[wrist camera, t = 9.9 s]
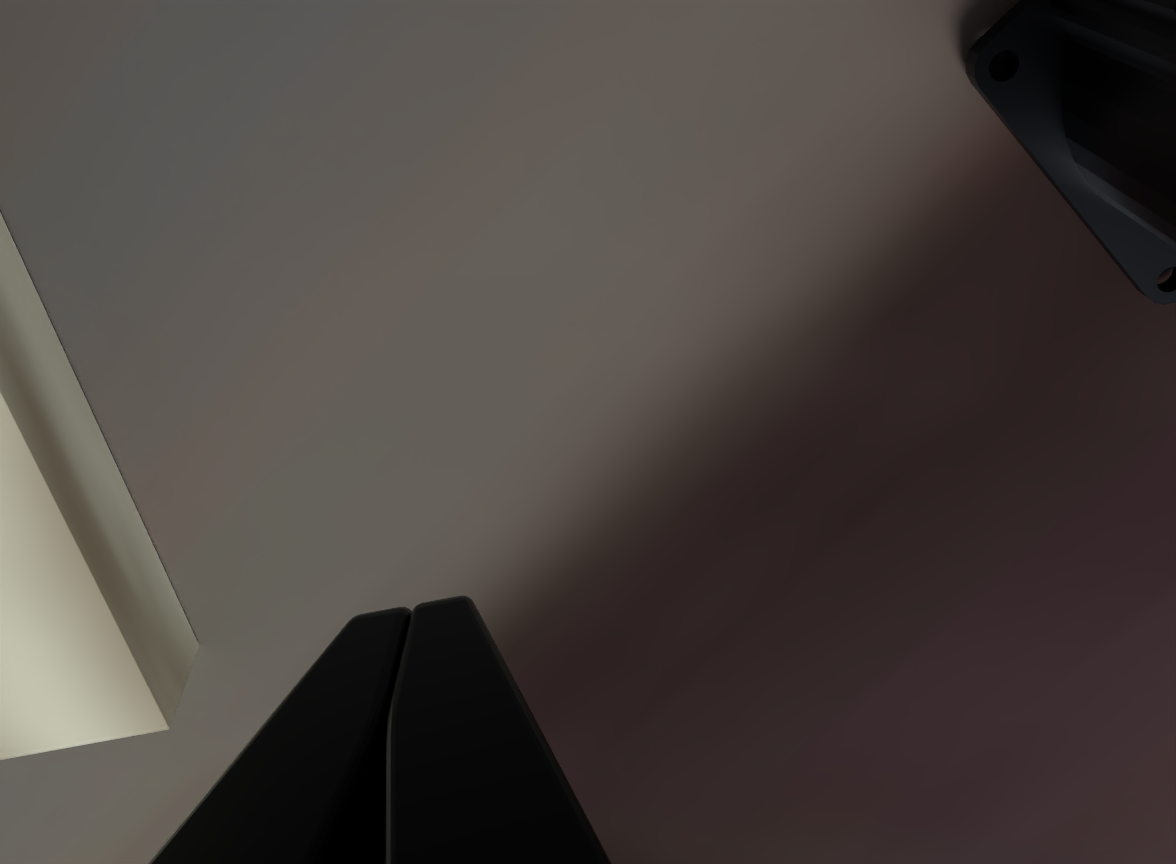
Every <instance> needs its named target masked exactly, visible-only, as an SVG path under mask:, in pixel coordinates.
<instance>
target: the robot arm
mask: <svg viewBox="0 0 1176 864" xmlns="http://www.w3.org/2000/svg"><path fill="white" fill-rule="evenodd" d="M1003 50H1008V52H1009V55H1010V60H1009V65H1008V67H1007V68H1006V69H1005V71H1004V72H1003V73H1001V74H999V75H997V76H990V73H989V65H990V61H991V60H992V59H993V57H994V56H995V55H996V54H997V53H999V52H1001V51H1003ZM966 74H967V76H968V78H969V80H970V82H971V84H972V85H973V86H974V87H975V89H976V90H977V91H978V92H979V94H980V95H981V96H982V97H983V99H984V100H985V101H986V102H987V104H988V105H989V106H990V107H991V108H992V110H993V111H994V112H995V113H996V115H997V116H998V117H999V118H1000V120H1001V121H1002V122H1003V123H1004V125H1005V126H1006V127H1007V128H1008V130H1009V131H1010V132H1011V133H1012V135H1013V136H1014V137H1015V138H1016V140H1017V141H1018V142H1019V143H1020V145H1021V146H1022V147H1023V148H1024V150H1025V151H1026V152H1027V153H1028V155H1029V156H1030V157H1031V158H1032V159H1033V161H1034V162H1035V163H1036V164H1037V166H1038V167H1039V168H1040V169H1041V171H1042V172H1043V173H1044V174H1045V176H1046V177H1047V178H1048V179H1049V181H1050V182H1051V183H1052V184H1053V186H1054V187H1055V188H1056V189H1057V191H1058V192H1059V193H1060V194H1061V196H1062V197H1063V198H1064V199H1065V201H1066V202H1067V203H1068V204H1069V205H1070V207H1071V208H1072V209H1073V210H1074V212H1075V213H1076V214H1077V215H1078V217H1079V218H1080V219H1081V220H1082V222H1083V223H1084V224H1085V225H1086V227H1087V228H1088V229H1089V230H1090V232H1091V233H1092V234H1093V235H1094V237H1095V238H1096V239H1097V240H1098V242H1099V243H1100V244H1101V245H1102V247H1103V248H1104V249H1105V250H1106V252H1107V253H1108V254H1109V255H1110V256H1111V258H1112V259H1113V260H1114V261H1115V263H1116V264H1117V265H1118V266H1119V268H1120V269H1121V270H1122V271H1123V273H1124V274H1125V275H1126V276H1127V278H1128V279H1129V280H1130V281H1131V283H1132V284H1133V285H1134V286H1135V288H1136V289H1137V290H1138V291H1140V292H1141V293H1142V294H1143V295H1145V296H1146V297H1147V298H1149V299H1150V300H1151V301H1153V302H1154V303H1158V304H1163V305H1164V304H1169V303H1174V302H1176V0H1020V1H1019V2H1018V3H1017V4H1016V5H1015V6H1014V7H1013V8H1012V9H1011V10H1010V11H1009V12H1007V13H1006V14H1005V15H1004V16H1003V17H1002V18H1001V19H1000V20H999V21H998V22H997V23H995V24H994V25H993V26H992V27H991V28H990V29H989V30H988V31H987V32H986V33H985V34H983V35H982V36H981V37H980V38H979V39H978V40H977V41H976V43H975V44H974V45H973V47H972V48H971V49H970V51H969V54H968V57H967V60H966ZM1170 267H1174V269H1173V272H1172V275H1171V276H1170V277H1169V279H1168V280H1167V281H1165V282H1163V283H1161V284H1157V281H1158V277H1159V276H1160V274H1161V273H1162V272H1163V271H1164V270H1166V269H1168V268H1170ZM148 864H611V862H610V860H609V858H608V856H607V854H606V852H605V851H604V849H603V847H602V845H601V843H600V841H599V839H598V837H597V835H596V834H595V832H594V830H593V828H592V826H591V824H590V822H589V820H588V818H587V816H586V815H585V813H584V811H583V809H582V807H581V805H580V803H579V801H578V799H577V798H576V796H575V794H574V792H573V790H572V788H571V786H570V784H569V782H568V780H567V779H566V777H565V775H564V773H563V771H562V769H561V767H560V765H559V763H558V761H557V760H556V758H555V756H554V754H553V752H552V750H551V748H550V746H549V744H548V743H547V741H546V739H545V737H544V735H543V733H542V731H541V729H540V727H539V725H538V724H537V722H536V720H535V718H534V716H533V714H532V712H531V710H530V708H529V707H528V705H527V703H526V701H525V699H524V697H523V695H522V693H521V691H520V689H519V688H518V686H517V684H516V682H515V680H514V678H513V676H512V674H511V672H510V670H509V669H508V667H507V665H506V663H505V661H504V659H503V657H502V655H501V653H500V652H499V650H498V648H497V646H496V644H495V642H494V640H493V638H492V636H491V634H490V633H489V631H488V629H487V627H486V625H485V623H484V621H483V619H482V617H481V616H480V614H479V612H478V610H477V608H476V606H475V604H474V602H473V601H472V599H470V598H469V597H467V596H457V597H451V598H446V599H441V600H435V601H430V602H425V603H421V604H419V605H417V606H416V607H415V608H414V609H413V611H411V610H410V609H408V608H406V607H397V608H392V609H387V610H381V611H376V612H370V613H365V614H360V615H357V616H355V617H354V618H352V619H351V620H350V621H349V622H348V623H347V624H346V625H345V626H344V628H343V629H342V630H341V631H340V632H339V634H338V635H337V636H336V637H335V639H334V640H333V641H332V642H331V643H330V645H329V646H328V647H327V648H326V649H325V651H324V652H323V653H322V654H321V655H320V657H319V658H318V659H317V660H316V661H315V663H314V664H313V665H312V666H311V667H310V669H309V670H308V671H307V672H306V673H305V675H304V676H303V677H302V678H301V679H300V681H299V682H298V683H297V684H296V685H295V687H294V688H293V689H292V690H291V691H290V693H289V694H288V695H287V696H286V698H285V699H284V700H283V701H282V702H281V704H280V705H279V706H278V707H277V708H276V710H275V711H274V712H273V713H272V714H271V716H270V717H269V718H268V719H267V720H266V722H265V723H264V724H263V725H262V726H261V728H260V729H259V730H258V731H257V732H256V734H255V735H254V736H253V737H252V738H251V740H250V741H249V742H248V743H247V744H246V746H245V747H244V748H243V749H242V750H241V752H240V753H239V754H238V755H237V757H236V758H235V759H234V760H233V761H232V763H231V764H230V765H229V766H228V767H227V769H226V770H225V771H224V772H223V773H222V775H221V776H220V777H219V778H218V779H217V781H216V782H215V783H214V784H213V785H212V787H211V788H210V789H209V790H208V791H207V793H206V794H205V795H204V796H203V797H202V799H201V800H200V801H199V802H198V803H197V805H196V806H195V807H194V808H193V809H192V811H191V812H190V813H189V814H188V815H187V817H186V818H185V819H184V820H183V822H182V823H181V824H180V825H179V826H178V828H177V829H176V830H175V831H174V832H173V834H172V835H171V836H170V837H169V838H168V840H167V841H166V842H165V843H164V844H163V846H162V847H161V848H160V849H159V850H158V852H157V853H156V854H155V855H154V856H153V858H152V859H151V860H150V861H149V862H148Z"/></svg>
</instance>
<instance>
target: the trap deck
mask: <svg viewBox="0 0 1176 864" xmlns="http://www.w3.org/2000/svg"><path fill="white" fill-rule="evenodd" d="M198 648H199V644H198V642H197V639H196V637H195V635H194V633H193V631H192V628H191V626H190V624H189V622H188V620H187V618H186V615H185V613H184V611H183V609H182V607H181V604H180V602H179V600H178V598H177V596H176V594H175V591H174V589H173V587H172V585H171V583H170V581H169V578H168V576H167V574H166V572H165V570H164V567H163V565H162V563H161V561H160V559H159V557H158V554H157V552H156V550H155V548H154V546H153V544H152V541H151V539H150V537H149V535H148V533H147V530H146V528H145V526H144V524H143V522H142V520H141V517H140V515H139V513H138V511H137V509H136V507H135V504H134V502H133V500H132V498H131V496H130V493H129V491H128V489H127V487H126V485H125V483H124V480H123V478H122V476H121V474H120V472H119V469H118V467H117V465H116V463H115V461H114V459H113V456H112V454H111V452H110V450H109V448H108V446H107V443H106V441H105V439H104V437H103V435H102V432H101V430H100V428H99V426H98V424H97V422H96V419H95V417H94V415H93V413H92V411H91V409H90V406H89V404H88V402H87V400H86V398H85V395H84V393H83V391H82V389H81V387H80V385H79V382H78V380H77V378H76V376H75V374H74V371H73V369H72V367H71V365H70V363H69V361H68V358H67V356H66V354H65V352H64V350H63V348H62V345H61V343H60V341H59V339H58V337H57V334H56V332H55V330H54V328H53V326H52V324H51V321H50V319H49V317H48V315H47V313H46V311H45V308H44V306H43V304H42V302H41V300H40V297H39V295H38V293H37V291H36V289H35V287H34V284H33V282H32V280H31V278H30V276H29V274H28V271H27V269H26V267H25V265H24V263H23V260H22V258H21V256H20V254H19V252H18V250H17V247H16V245H15V243H14V241H13V239H12V236H11V234H10V232H9V230H8V228H7V226H6V223H5V221H4V219H3V217H2V215H1V213H0V760H2V759H7V758H13V757H18V756H24V755H29V754H35V753H41V752H46V751H52V750H57V749H63V748H68V747H74V746H79V745H85V744H90V743H96V742H101V741H107V740H113V739H118V738H124V737H129V736H135V735H140V734H146V733H151V732H157V731H162V730H168V729H170V726H171V723H172V721H173V718H174V715H175V712H176V709H177V707H178V704H179V701H180V698H181V695H182V693H183V690H184V687H185V684H186V681H187V679H188V676H189V673H190V670H191V667H192V664H193V662H194V659H195V656H196V653H197V650H198Z"/></svg>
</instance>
